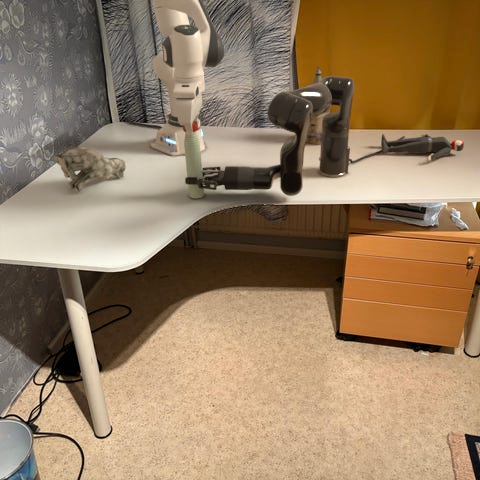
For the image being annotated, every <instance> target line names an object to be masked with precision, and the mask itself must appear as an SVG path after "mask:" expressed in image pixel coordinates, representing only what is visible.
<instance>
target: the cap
mask: <svg viewBox="0 0 480 480" xmlns="http://www.w3.org/2000/svg"><path fill="white" fill-rule="evenodd" d="M192 129H193V132H195V131H197V130H198V123H197V122H192ZM183 131H184V132H186V129H185V126H184V125H183Z"/></svg>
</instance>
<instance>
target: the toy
mask: <svg viewBox="0 0 480 480" xmlns="http://www.w3.org/2000/svg"><path fill="white" fill-rule="evenodd" d="M420 135H421V136H418V137H410V138H409V137H408V138H403V139H402V140H398V139H397V140H387V138H386V136H385V134H384V133H382V134H381V140H380V141H381V143H380V147H381V150H382V152H381V154H382V155H386V154H391V153H395V154H401V153H402V154H403V153H408V154H416V153H417V154H426V153H431V154H430V155H428V156H427V160H428V161H429V162H430V161H433V160H435V159H437V158H438V157H441V156H443V157H444V156H448V155H450V154H451V151H452V150H453V151H455V152H461V151H463V150H464V147H465V142H464V141H462V140H452V141H451V142H450V141H449V140H448V139H447V138H446V137H445V136H433V137H432V136H431V135H429V134H427V133H425V134H423V133H422V134H420ZM388 146H389V147H388ZM390 146H391V147H390ZM433 152H434V153H433Z"/></svg>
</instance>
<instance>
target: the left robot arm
mask: <svg viewBox="0 0 480 480" xmlns="http://www.w3.org/2000/svg"><path fill="white" fill-rule="evenodd" d="M151 1H152V5H153V6H152V7H153V9H154V14H155V19H156V24H157V27H158V31H159V33H160V34H161V35H163V36H164V37H165V39H164V40H163V41H162V43H161V46H162V47H161V48H162V51H161V52H159V53H158V54H157V55H156V56H155V57H154V58H153V60H152V69H153V72H154V74H155V76H156V77H157V78H158V79H159V80H161V82H163V84H164V87H165V88H166V90H167V94H168V99H169V106H170V107H169V108H170V109H169V110H170V113H168V114H167V115H165V119H166V120H167V123H166V124H164V125H163V126H161V125H157V124H156V125H155V124H147V123H141V122H134V121H131V119H132V115H131V114H129V115H128V117H127V122H128V123H129V124H131V125H134V126H141V127H147V128H156V129H158V130H157V131H156V134H155V135H156V136H155V137H156V138H155V141H153V142H151V144H150V148H152V149H154V150H157V151H159V152H161V153H164V154H167V155H169V156H174V157H175V156H176V157H177V156H182V155H183V156H185V148H184V138H185V134H186V135H187V136H192V134H193V129H192V122H197V123H198V130H197V131H196V133H197V135H198V138H199V141H200V151H201V152H204V151H205V149H206V145H205V142H204V139H203V138H204V133H203V131H202V130H203V129H202V127H201V126H202V115H201V112H200V111H201V110H202V108H203V95H202V94H203V93H204V92H205V89H206V86H205V71H204V70H205V68H216V67H217V66H218V65H219V64H220V63H221V62H222V61H223V59H224V57H225V46H224V42H223V39H222V37H221V36H220V34H219V33H218V31H217V29H216V28H215V26H214V24H213V22H212V19H211V18H210V15H209V13H208V10H207V8H206V6H205V4H204V2H203V0H151ZM189 17H190V18H191V19H192V20H193V22H194V24H195V25H191V24H190V21H189ZM183 125H184V126H185V129H186V133H185V132H184V131H183Z"/></svg>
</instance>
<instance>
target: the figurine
mask: <svg viewBox="0 0 480 480" xmlns="http://www.w3.org/2000/svg"><path fill="white" fill-rule="evenodd" d="M54 160H55V163H57V165H59V166H60V170H61V171H62V173H63V176H64V177H65V178H67V179H68V178H69V179H70V180H71V181H70V182H69V183H68V186H69V188H70V189H71V190H76V192H77V193H81V192H82V187H84V185H85V184H87V183H88V182H90V181H92V180H94V179H96V180H108V179H109V178H111V176H113V177H118V178H124V174H125V173H124V172H125V171H126V169H127V166H126V161H125V160H124V159H121V158H118V157H111V158H110V157H106V156H104V155H103V154H102V153H100V152H98V151H97V150H95V149H93V148H89V147H83V146H72V147H69V148H67V149H65V150H64V151H63V152H58V153H57V154H56V155H55V156H54ZM76 172H78V173H76Z"/></svg>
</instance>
